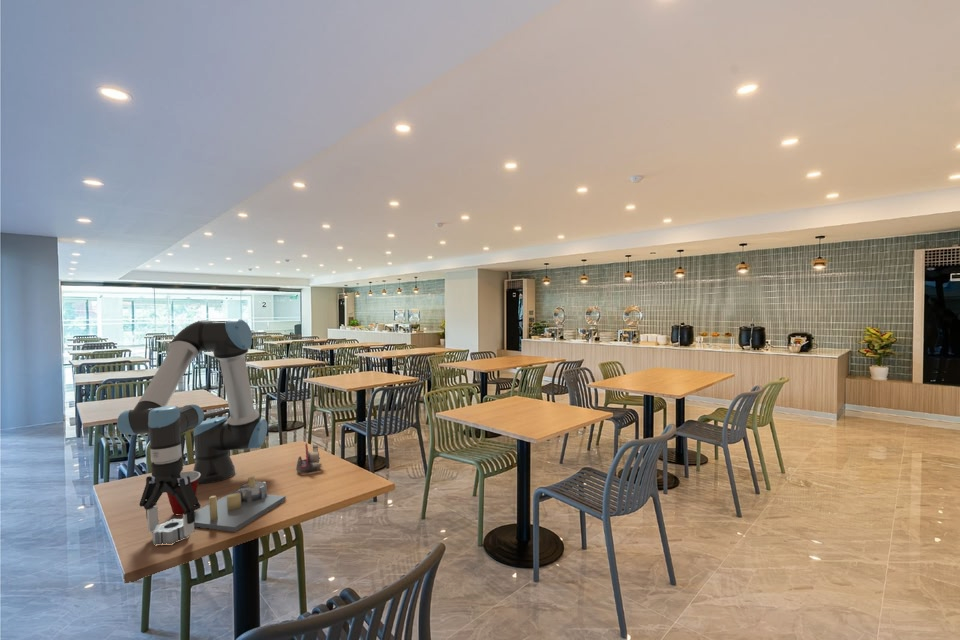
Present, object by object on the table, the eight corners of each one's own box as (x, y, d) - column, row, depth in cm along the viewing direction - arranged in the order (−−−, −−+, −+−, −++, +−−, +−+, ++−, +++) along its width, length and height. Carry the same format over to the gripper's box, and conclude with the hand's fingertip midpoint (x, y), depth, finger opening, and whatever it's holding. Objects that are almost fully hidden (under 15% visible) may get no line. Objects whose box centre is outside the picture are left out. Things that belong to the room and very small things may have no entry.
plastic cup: (172, 522, 143) (170, 485, 142) (158, 514, 149) (156, 479, 148) (209, 508, 152) (206, 473, 151) (194, 502, 158) (191, 468, 157)
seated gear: (232, 501, 153) (232, 490, 153) (251, 491, 161) (250, 480, 161) (254, 503, 151) (253, 491, 150) (272, 493, 159) (271, 482, 158)
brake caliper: (290, 462, 187) (307, 437, 190) (313, 474, 191) (330, 449, 193) (289, 471, 177) (307, 445, 179) (313, 484, 180) (331, 457, 183)
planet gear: (144, 545, 129) (143, 531, 129) (174, 529, 138) (173, 516, 138) (169, 548, 126) (168, 534, 126) (198, 532, 135) (197, 519, 135)
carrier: (178, 525, 141) (176, 498, 140) (234, 495, 162) (232, 472, 161) (235, 532, 135) (233, 504, 134) (285, 500, 156) (284, 476, 155)
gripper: (121, 462, 131) (126, 534, 132) (188, 466, 124) (193, 542, 125) (147, 454, 138) (151, 522, 139) (211, 457, 132) (215, 529, 132)
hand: (171, 531), depth 132 cm, fingers open, 13 cm apart
